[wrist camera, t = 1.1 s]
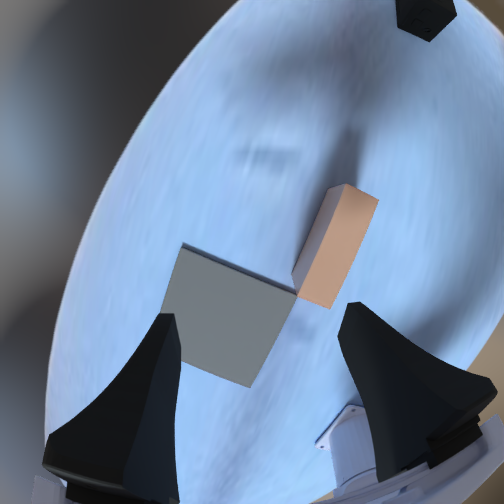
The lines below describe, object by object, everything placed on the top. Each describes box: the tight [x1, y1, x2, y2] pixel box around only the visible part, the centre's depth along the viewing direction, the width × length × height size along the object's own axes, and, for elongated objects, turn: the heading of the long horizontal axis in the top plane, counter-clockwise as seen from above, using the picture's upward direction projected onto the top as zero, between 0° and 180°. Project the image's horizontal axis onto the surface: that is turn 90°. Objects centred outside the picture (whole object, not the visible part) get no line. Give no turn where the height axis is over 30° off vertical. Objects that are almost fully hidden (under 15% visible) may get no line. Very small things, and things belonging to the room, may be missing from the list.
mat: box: [160, 247, 297, 388], centre depth 25 cm, size 11×11×1 cm
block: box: [291, 183, 379, 309], centre depth 20 cm, size 3×8×6 cm, turn 158°
